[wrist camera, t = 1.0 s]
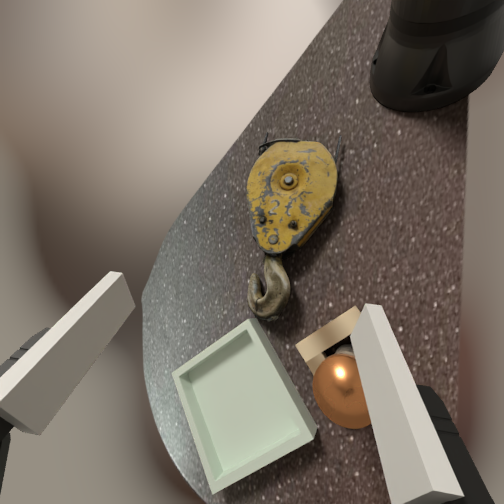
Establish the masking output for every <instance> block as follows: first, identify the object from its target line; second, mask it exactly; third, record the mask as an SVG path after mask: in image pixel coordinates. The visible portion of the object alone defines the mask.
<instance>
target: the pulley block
mask: <svg viewBox="0 0 504 504" xmlns="http://www.w3.org/2000/svg"><path fill="white" fill-rule="evenodd" d="M267 137H268V132H267V133H266V136H265V138H264V141H263V143H262V145H260V147H259V155H261V156H260V157H259V158H258V160H257V161H256V163H255V164H254V166H253V168H252V170H251V172H250V175H249V178H248V182H247V188H246V198H247V204H248V210H249V216H250V222H251V229H252V234H253V238H254V240H255V241H256V242H257V244H258V246H259V247H260V249H262V250H263V251H264V252H265V255H266V256H265V257H264V258H263V261H262V262H263V264H264V276H265V281H266V285H267V292H266V294H265V296H264V297H263V296H262V293H261V286H260V279H259V277H258V275H257V274H254V273H253V274H252V275H251V277H250V281H249V287H248V294H247V302H248V305H249V308H250V309H251V311H252V312H253V313H254V315H255V318H256V317H258V318H259V319H263V320H268V321H272V320H276V319H277V318H278V317H279V315H280V313H281V312H282V311H283V310H284V308H285V306H286V305H287V303H288V299H289V296H290V282H289V278H288V276H287V274H286V272H285V270H284V268H283V266H282V260H281V259H286V258H288V257H290V256H291V255H292V254H293V253H295V252H296V251H297V250H299V249H300V248H301V247H302V246H303V245H304V244H305V243H306V242H307V240H308V239H309V238H310V237H311V235H312V234H313V233H314V232H315V230H316V229H317V228H318V227H319V226H320V224H321V223H322V222H323V221H324V219H325V218H326V217H327V216H328V214H329V213H330V212H331V211H332V210H333V209H334V207H332V206H333V202H334V199H335V196H336V186H337V169H336V162H337V157H338V152H339V147H340V141H341V135H340V137H339V141H338V146H337V151H336V154H335V157H334V159H333V157H332V155H331V154H330V152H329V151H328V150H327V149H326V148H325V147H324V146H323V145H322V144H321V143H319V142H310V141H308V140H307V141H305V140H299V139H298V138H293V139H290V138H282V139H277V140H273V141H270V142H267ZM266 142H267V143H266ZM266 146H267V147H268V149H266ZM278 319H279V318H278Z"/></svg>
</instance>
